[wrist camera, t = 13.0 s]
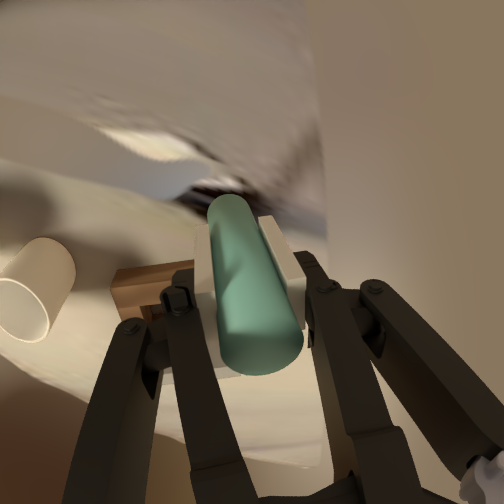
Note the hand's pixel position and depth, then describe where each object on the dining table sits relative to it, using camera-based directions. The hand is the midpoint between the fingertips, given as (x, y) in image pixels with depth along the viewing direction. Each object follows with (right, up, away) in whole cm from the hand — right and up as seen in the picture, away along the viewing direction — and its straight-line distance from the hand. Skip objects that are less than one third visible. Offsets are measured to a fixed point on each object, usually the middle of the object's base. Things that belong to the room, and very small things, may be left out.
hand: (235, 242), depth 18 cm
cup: (-26, -3, +17) cm, 31 cm away
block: (-10, -7, +21) cm, 24 cm away
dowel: (-1, +2, +4) cm, 5 cm away
